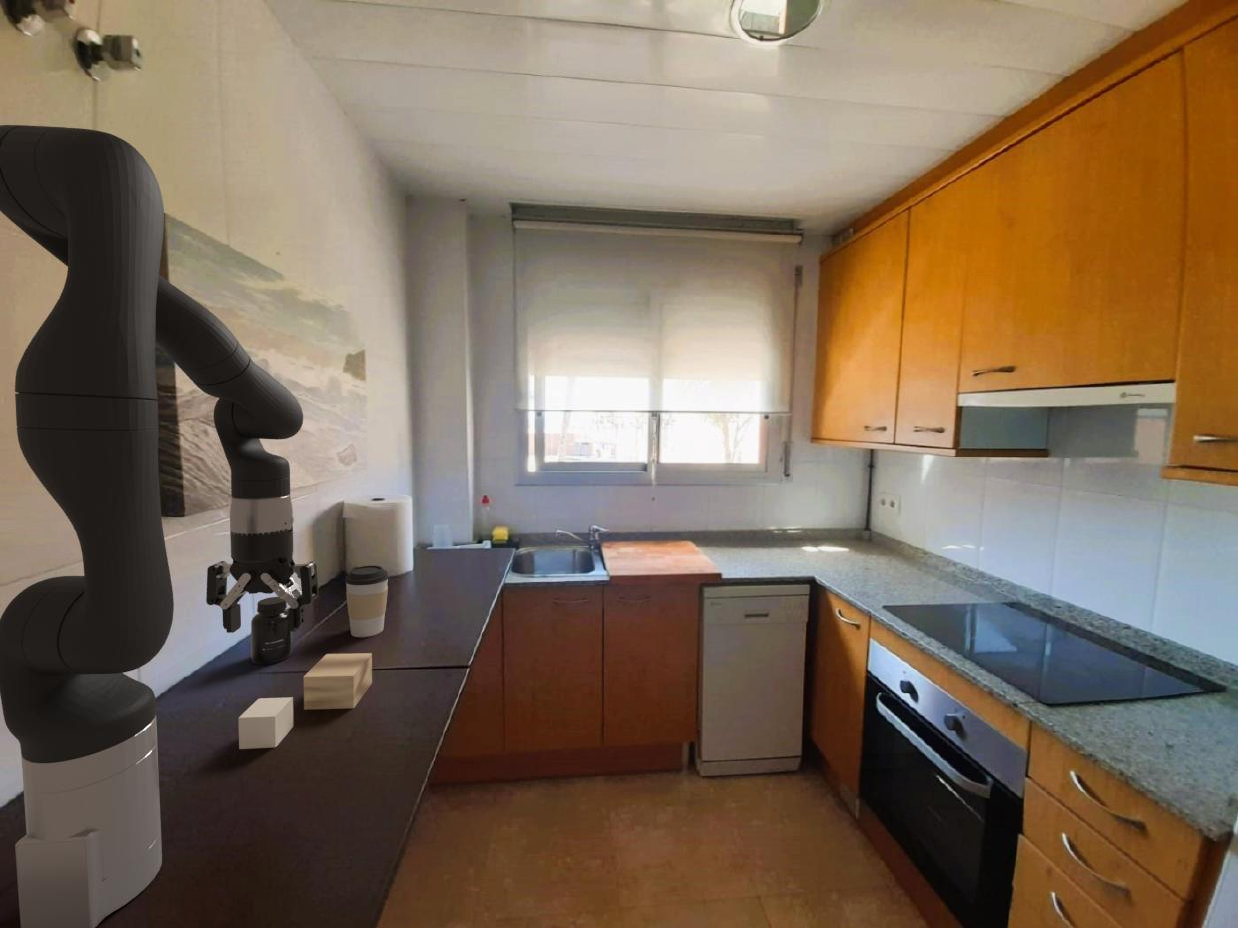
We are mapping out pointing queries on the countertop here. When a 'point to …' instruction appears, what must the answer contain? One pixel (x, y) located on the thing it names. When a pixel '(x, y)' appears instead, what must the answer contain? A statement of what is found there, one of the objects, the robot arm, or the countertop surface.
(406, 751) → the countertop surface
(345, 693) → the oak block
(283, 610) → the supplement bottle
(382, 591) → the coffee cup
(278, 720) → the cream cube
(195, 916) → the countertop surface
